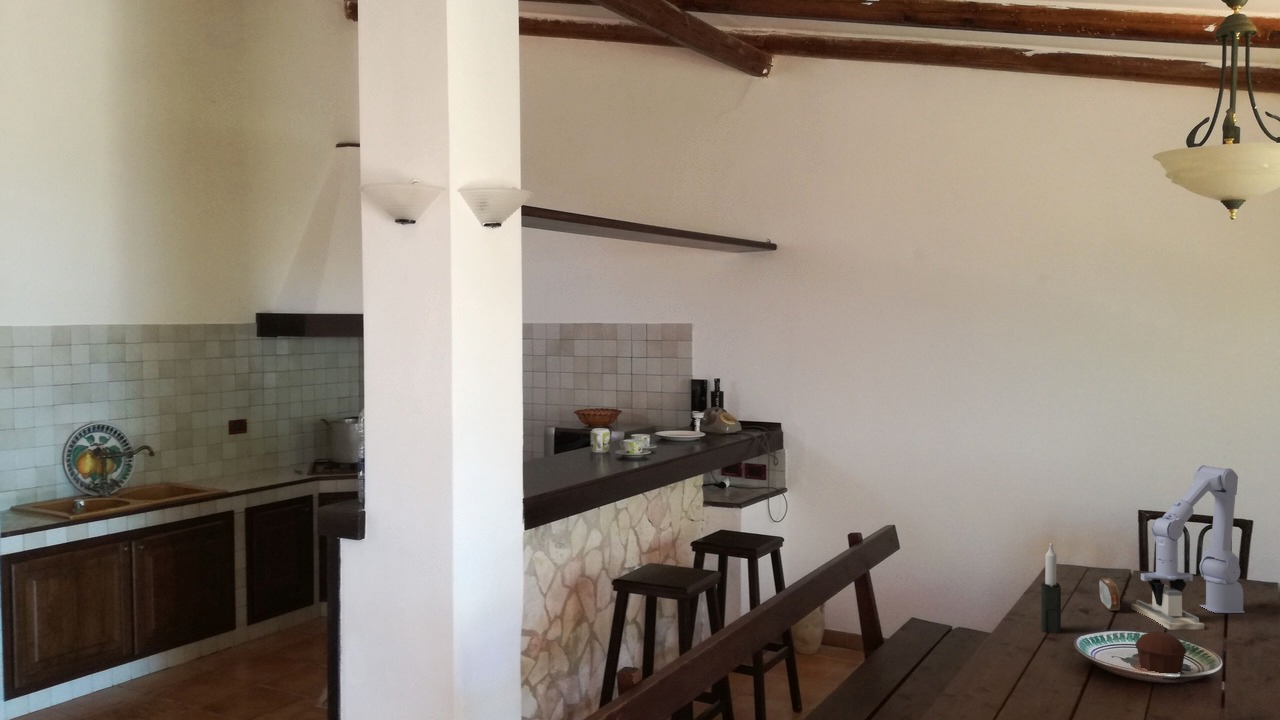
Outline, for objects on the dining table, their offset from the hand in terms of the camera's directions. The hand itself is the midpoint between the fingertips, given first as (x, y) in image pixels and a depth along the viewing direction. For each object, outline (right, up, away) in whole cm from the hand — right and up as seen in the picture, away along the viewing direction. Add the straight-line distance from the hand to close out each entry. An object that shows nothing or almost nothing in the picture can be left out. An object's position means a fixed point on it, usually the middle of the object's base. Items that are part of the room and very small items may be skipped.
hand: (1166, 604), depth 295 cm
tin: (-11, -4, +13) cm, 18 cm away
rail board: (0, -4, 0) cm, 4 cm away
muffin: (-27, -6, -48) cm, 55 cm away
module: (0, -2, 0) cm, 2 cm away
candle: (-39, -5, -11) cm, 41 cm away
